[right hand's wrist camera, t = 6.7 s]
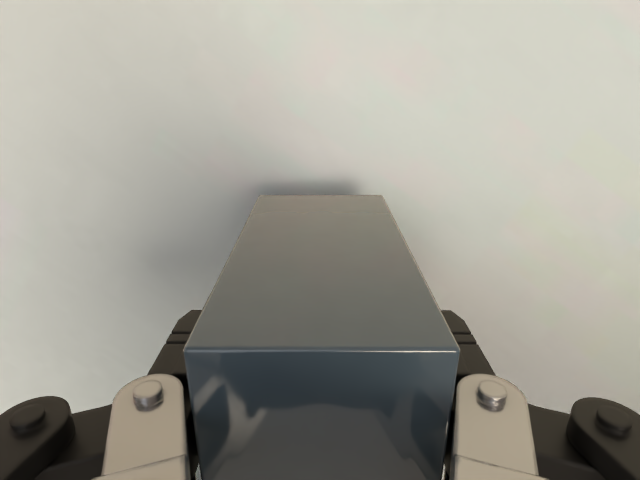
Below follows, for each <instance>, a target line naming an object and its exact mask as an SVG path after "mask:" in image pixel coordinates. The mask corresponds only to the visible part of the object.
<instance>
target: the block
mask: <svg viewBox="0 0 640 480" xmlns="http://www.w3.org/2000/svg"><path fill="white" fill-rule="evenodd" d="M183 352H184V359H185V366H186V373H187V380H188V387H189V394H190V401H191V409H192V416H193V423H194V430H195V437H196V444H197V451H198V458H199V465H200V472H201V479H202V480H441V479H442V472H443V465H444V458H445V451H446V444H447V438H448V431H449V424H450V417H451V410H452V403H453V396H454V389H455V382H456V375H457V368H458V361H459V355H460V348H459V346H458V344H457V342H456V340H455V338H454V336H453V334H452V332H451V330H450V328H449V326H448V324H447V322H446V320H445V318H444V316H443V314H442V312H441V310H440V308H439V306H438V304H437V302H436V300H435V298H434V296H433V295H432V293H431V291H430V289H429V287H428V285H427V283H426V281H425V279H424V277H423V275H422V273H421V271H420V269H419V267H418V265H417V263H416V261H415V259H414V257H413V255H412V253H411V251H410V249H409V247H408V245H407V243H406V241H405V239H404V237H403V235H402V233H401V231H400V229H399V227H398V225H397V223H396V221H395V220H394V218H393V216H392V214H391V212H390V210H389V208H388V206H387V204H386V202H385V200H384V198H383V196H382V195H260V196H259V197H258V199H257V201H256V203H255V205H254V207H253V209H252V211H251V213H250V215H249V217H248V219H247V221H246V223H245V225H244V227H243V229H242V231H241V233H240V235H239V237H238V239H237V242H236V244H235V246H234V248H233V250H232V252H231V254H230V256H229V258H228V260H227V262H226V264H225V266H224V268H223V270H222V272H221V274H220V276H219V278H218V280H217V282H216V284H215V286H214V288H213V290H212V292H211V294H210V296H209V298H208V300H207V302H206V304H205V306H204V308H203V310H202V312H201V314H200V316H199V318H198V320H197V322H196V324H195V326H194V328H193V330H192V332H191V334H190V337H189V339H188V341H187V343H186V345H185V347H184V349H183Z"/></svg>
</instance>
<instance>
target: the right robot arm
mask: <svg viewBox="0 0 640 480" xmlns="http://www.w3.org/2000/svg"><path fill="white" fill-rule="evenodd" d="M209 296H210V295H209ZM208 298H209V297H208ZM207 300H208V299H207ZM206 302H207V301H206ZM201 312H202V310H191V311H190V312H188V313H187V314H186V315H185V316H183V317H182V318H181V319H179V320H178V322H177V324H176V325H175V327H174V329H173V331H172V334H170V336H169V338H168V339H167V341H166V344H165V345H164V346H163V348H162V350H161V352H160V353H159V355H158V357H157V359H156V360H155V362H154V364H153V366H152V367H151V369H150V371H149V373H148V374H147V376H143V377H140V378H138V379H135V380H133V381H131V382H130V383H128V384H127V385H125V386H124V387H123V388H122V389H121V390H120V391H119V392H118V393H117V394H116V396H115V398H114V400H113V403H112V404H111V405H108V406H104V407H100V408H96V409H91V410H87V411H83V412H78V413H74V414H72V413H71V410H70V406H69V404H68V402H67V401H66V400H64V399H63V398H60V397H55V396H45V397H39V398H34V399H31V400H27V401H25V402H22V403H20V404H18V405H16V406H14V407H12V408H10V409H9V410H7V411H5V412H4V413H3V414H1V415H0V480H196V470H197V467H198V464H199V458H198V451H197V444H196V437H195V430H194V423H193V416H192V409H191V401H190V394H189V387H188V380H187V373H186V366H185V359H184V352H183V349H184V347H185V345H186V343H187V341H188V339H189V337H190V334H191V332H192V330H193V328H194V326H195V324H196V322H197V320H198V318H199V316H200V314H201ZM441 312H442V314H443V316H444V318H445V320H446V322H447V324H448V326H449V328H450V330H451V332H452V334H453V336H454V338H455V340H456V342H457V344H458V346H459V348H460V355H459V361H458V368H457V375H456V382H455V389H454V396H453V403H452V410H451V417H450V424H449V431H448V438H447V444H446V451H445V458H444V464H445V473H444V480H640V415H639V414H637V413H636V412H634V411H633V410H631V409H629V408H627V407H625V406H623V405H621V404H619V403H616V402H613V401H610V400H607V399H602V398H583V399H580V400H578V401H576V402H575V403H574V404H573V406H572V409H571V413H570V414H567V413H562V412H558V411H553V410H549V409H545V408H541V407H537V406H534V405H531V404H528V403H527V400H526V398H525V396H524V394H523V393H522V392H521V391H520V390H519V389H518V388H517V387H516V386H515V385H513V384H512V383H510V382H509V381H507V380H505V379H502V378H500V377H497V376H496V375H495V373H494V372H493V370H492V368H491V366H490V365H489V363H488V361H487V359H486V358H485V356H484V354H483V353H482V351H481V349H480V347H479V346H478V345H477V344H476V340H475V339H474V337H473V335H471V332H470V330H469V328H468V327H467V325H466V323H465V321H464V320H463V319H461V318H460V317H459V316H457V315H456V314H455V313H453V312H452V311H451V310H441Z"/></svg>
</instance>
